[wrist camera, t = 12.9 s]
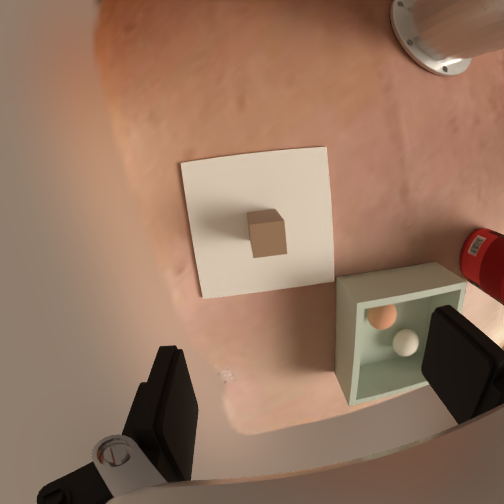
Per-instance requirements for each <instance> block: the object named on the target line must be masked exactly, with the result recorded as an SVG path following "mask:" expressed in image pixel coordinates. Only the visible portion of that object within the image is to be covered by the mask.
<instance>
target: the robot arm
mask: <svg viewBox="0 0 504 504" xmlns="http://www.w3.org/2000/svg"><path fill="white" fill-rule="evenodd" d="M390 20H391V24H392V28H393V30H394V33H395V35H396V37H397V39H398V41H399V43H400V44H401V46H402V47H403V48H404V50H405V51H406V52H407V54H408V55H409V56H410V57H411V58H412V59H413V60H414V61H415V62H416V63H418V64H419V65H420V66H421V67H423V68H424V69H426V70H428V71H429V72H432V73H434V74H436V75H440V76H455V75H458V74H461V73H463V72H464V71H465V70H466V69H467V68H468V66H469V65H470V62H471V59H472V57H475V56H478V55H482V54H485V53H489V52H492V51H496V50H499V49H503V48H504V0H393V2H392V4H391V9H390ZM421 372H422V375H423V376H424V378H425V379H426V380H427V382H428V383H429V384H430V386H431V387H432V388H433V389H434V391H435V392H436V394H437V395H438V396H439V398H440V399H441V401H442V402H443V403H444V405H445V406H446V407H447V409H448V410H449V412H450V413H451V415H452V416H453V417H454V419H455V420H456V422H457V423H458V425H457V426H455V427H452V428H450V429H447V430H445V431H442V432H440V433H437V434H434V435H432V436H429V437H426V438H424V439H421V440H418V441H415V442H413V443H409V444H406V445H404V446H400V447H397V448H394V449H391V450H387V451H384V452H381V453H377V454H374V455H370V456H366V457H362V458H359V459H354V460H350V461H346V462H342V463H337V464H332V465H327V466H322V467H317V468H312V469H306V470H300V471H294V472H286V473H279V474H271V475H262V476H253V477H242V478H229V479H211V480H194V481H191V473H192V464H193V454H194V445H195V436H196V428H197V419H198V404H197V400H196V397H195V393H194V390H193V386H192V383H191V379H190V375H189V372H188V368H187V364H186V361H185V357H184V353H183V350H182V349H177V347H176V346H175V345H174V346H160V347H159V350H158V352H157V355H156V358H155V361H154V364H153V367H152V369H151V372H150V375H149V378H148V381H147V382H142V383H140V385H139V387H138V390H137V393H136V396H135V398H134V401H133V404H132V406H131V410H130V412H129V415H128V418H127V421H126V424H125V427H124V429H123V432H122V435H111V436H108V437H105V438H104V439H102V440H100V441H99V442H98V443H97V444H96V445H95V447H94V449H93V451H92V459H93V462H91V463H89V464H87V465H85V466H84V467H81V468H79V469H78V470H76V471H74V472H72V473H70V474H68V475H66V476H63V477H62V478H59V479H57V480H55V481H53V482H51V483H49V484H47V485H46V486H44V487H43V488H42V489H41V490H40V491H39V494H38V496H37V504H504V351H503V350H502V349H501V348H500V347H499V346H498V345H497V344H496V343H494V342H493V341H492V340H491V339H490V338H489V337H488V336H486V335H485V334H484V333H483V332H482V331H481V330H480V329H478V328H477V327H476V326H475V325H474V324H472V323H471V322H470V321H469V320H468V319H467V318H465V317H464V316H463V315H462V314H461V313H459V312H458V311H457V310H456V309H454V308H453V307H452V306H451V305H444V306H440V307H437V308H436V309H435V310H434V312H433V313H432V315H431V320H430V326H429V331H428V337H427V342H426V347H425V352H424V356H423V361H422V365H421Z"/></svg>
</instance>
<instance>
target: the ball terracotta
mask: <svg viewBox="0 0 504 504" xmlns="http://www.w3.org/2000/svg"><path fill="white" fill-rule="evenodd" d="M396 316H397V311H396V308H395V306H394V305H393V304H389V305H384V306H379V307H373V308H369V309H368V312H367V318H368V321H369V323H370V325H371V326H372V327H374V328H376V329H379V330H383V329H387V328H389V327H390V326H392V325H393V323H394V322H395V320H396Z"/></svg>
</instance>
